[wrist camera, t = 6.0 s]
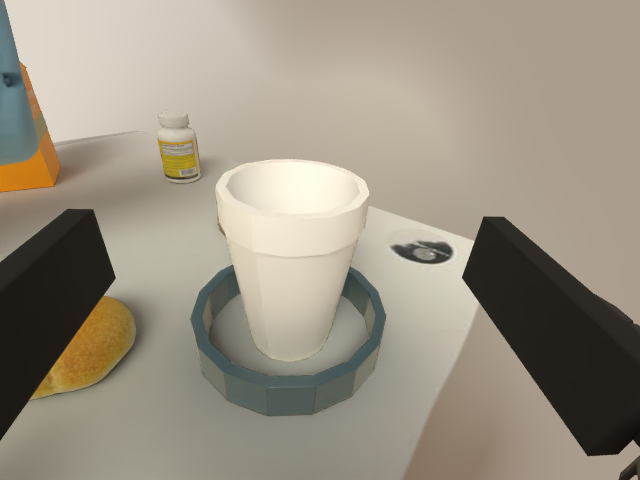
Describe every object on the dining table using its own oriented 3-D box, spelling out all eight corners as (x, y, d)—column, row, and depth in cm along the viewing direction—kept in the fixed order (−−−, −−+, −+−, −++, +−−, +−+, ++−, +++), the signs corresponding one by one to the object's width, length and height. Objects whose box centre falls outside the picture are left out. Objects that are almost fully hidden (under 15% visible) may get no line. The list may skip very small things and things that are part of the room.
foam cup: (353, 303, 31) (374, 169, 24) (338, 391, 23) (363, 231, 16) (255, 285, 32) (249, 153, 25) (211, 364, 24) (184, 203, 18)
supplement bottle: (176, 170, 56) (166, 108, 51) (207, 173, 55) (199, 112, 50) (158, 181, 51) (144, 115, 46) (191, 186, 51) (181, 119, 46)
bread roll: (134, 382, 23) (120, 342, 21) (-33, 424, 20) (-71, 383, 18) (142, 302, 29) (131, 266, 27) (16, 325, 26) (-7, 286, 24)
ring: (290, 467, 19) (291, 439, 17) (160, 331, 27) (153, 303, 25) (410, 328, 29) (418, 302, 27) (290, 258, 36) (290, 234, 35)
